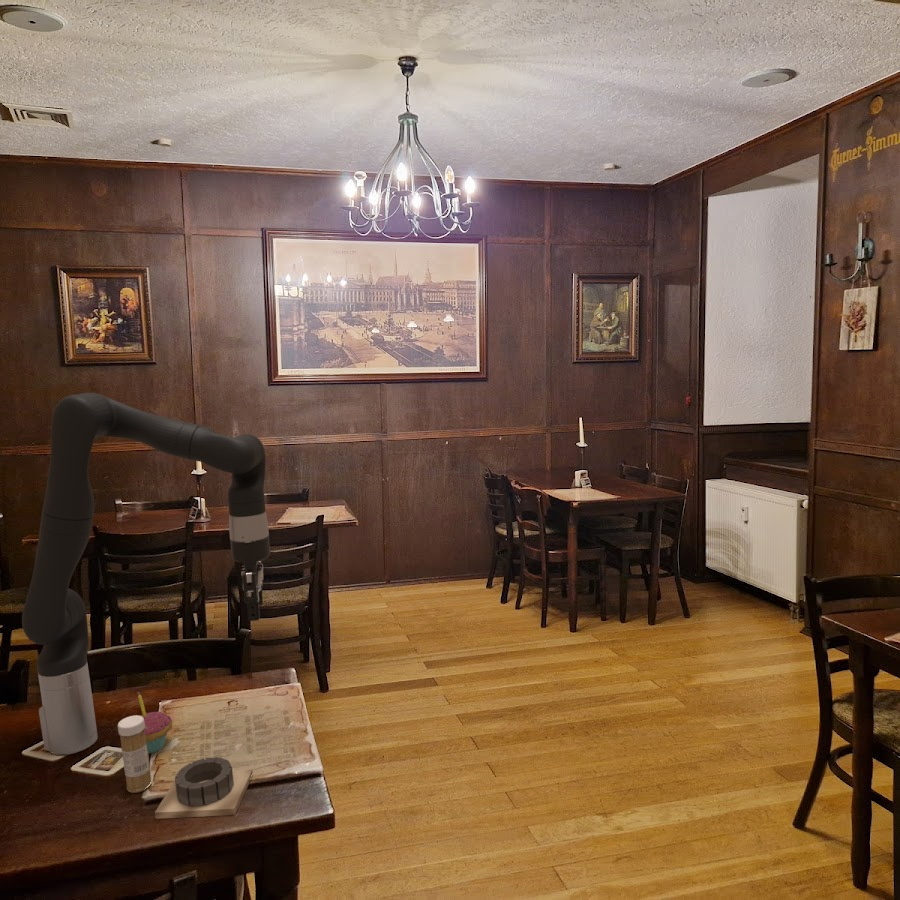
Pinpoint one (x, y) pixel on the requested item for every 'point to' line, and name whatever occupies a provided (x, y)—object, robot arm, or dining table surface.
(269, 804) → the dining table surface
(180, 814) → the ring holder
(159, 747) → the cupcake
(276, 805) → the dining table surface
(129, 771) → the sprinkles bottle
